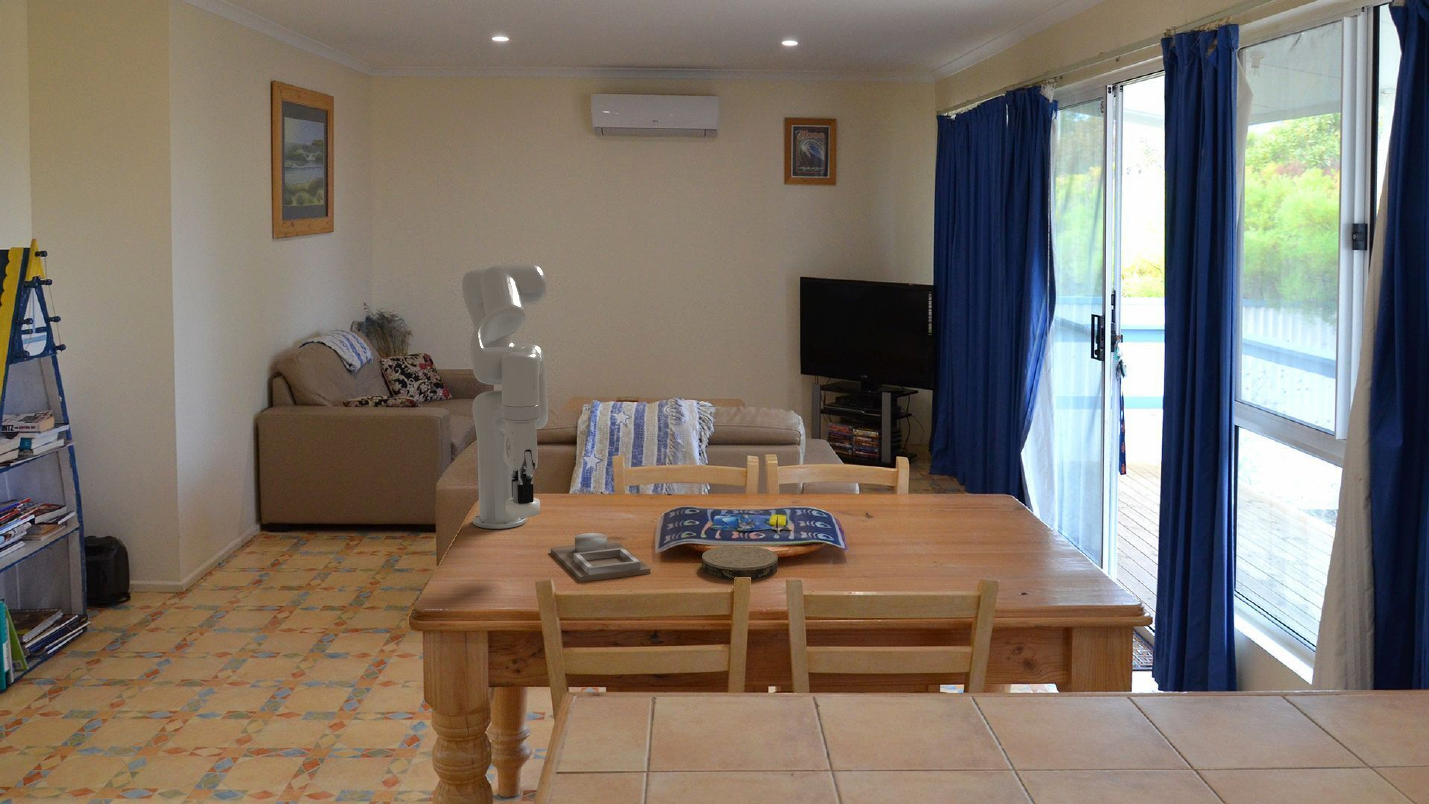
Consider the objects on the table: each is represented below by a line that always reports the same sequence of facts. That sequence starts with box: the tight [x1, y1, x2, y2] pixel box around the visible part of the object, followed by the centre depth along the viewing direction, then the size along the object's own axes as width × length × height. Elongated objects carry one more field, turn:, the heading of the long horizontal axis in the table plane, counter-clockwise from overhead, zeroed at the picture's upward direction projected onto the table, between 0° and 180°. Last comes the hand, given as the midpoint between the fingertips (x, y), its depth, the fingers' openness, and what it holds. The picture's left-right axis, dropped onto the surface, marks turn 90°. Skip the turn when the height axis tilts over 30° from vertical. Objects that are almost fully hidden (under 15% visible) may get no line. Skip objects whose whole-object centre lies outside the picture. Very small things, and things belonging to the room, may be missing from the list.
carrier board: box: [550, 532, 651, 583], centre depth 255 cm, size 22×15×4 cm
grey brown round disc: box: [701, 545, 779, 581], centre depth 252 cm, size 16×16×3 cm
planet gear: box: [506, 480, 541, 518], centre depth 248 cm, size 7×7×6 cm
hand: (522, 499), depth 248 cm, fingers closed on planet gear, 4 cm apart
